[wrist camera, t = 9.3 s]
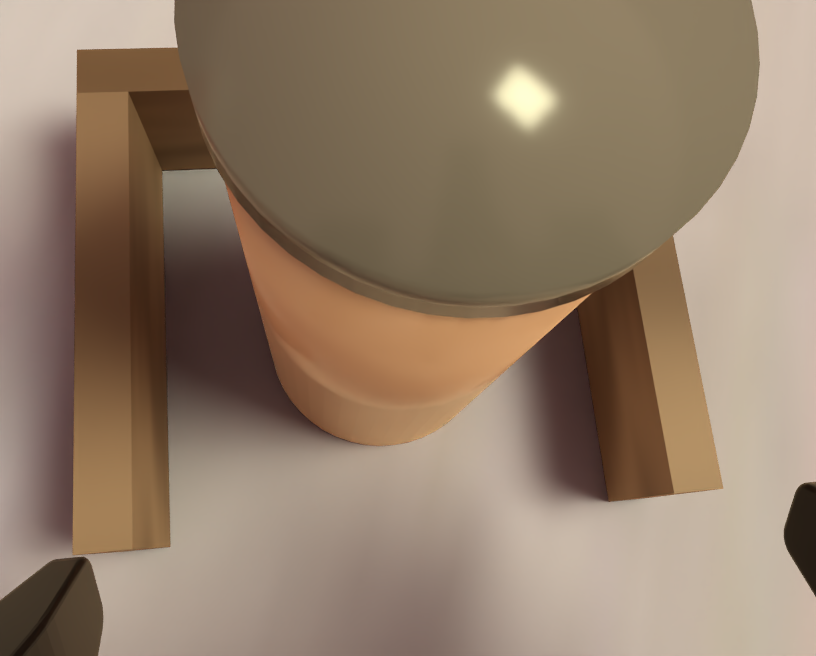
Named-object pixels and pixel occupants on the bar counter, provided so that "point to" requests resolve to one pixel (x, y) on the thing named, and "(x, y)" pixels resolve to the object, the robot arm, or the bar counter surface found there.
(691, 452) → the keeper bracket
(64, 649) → the robot arm
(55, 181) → the bar counter surface
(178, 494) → the bar counter surface
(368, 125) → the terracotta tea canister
